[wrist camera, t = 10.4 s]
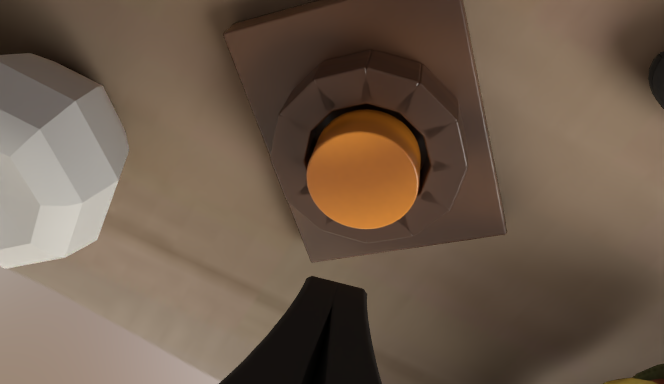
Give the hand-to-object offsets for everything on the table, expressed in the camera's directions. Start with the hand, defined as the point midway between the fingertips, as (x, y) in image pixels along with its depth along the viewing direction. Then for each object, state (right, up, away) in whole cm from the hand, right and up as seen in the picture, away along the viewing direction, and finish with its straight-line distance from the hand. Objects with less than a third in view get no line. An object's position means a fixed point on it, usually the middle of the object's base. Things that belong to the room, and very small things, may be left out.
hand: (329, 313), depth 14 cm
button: (+1, +4, +7) cm, 8 cm away
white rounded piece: (-11, +6, +11) cm, 16 cm away
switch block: (+2, +5, +9) cm, 10 cm away
